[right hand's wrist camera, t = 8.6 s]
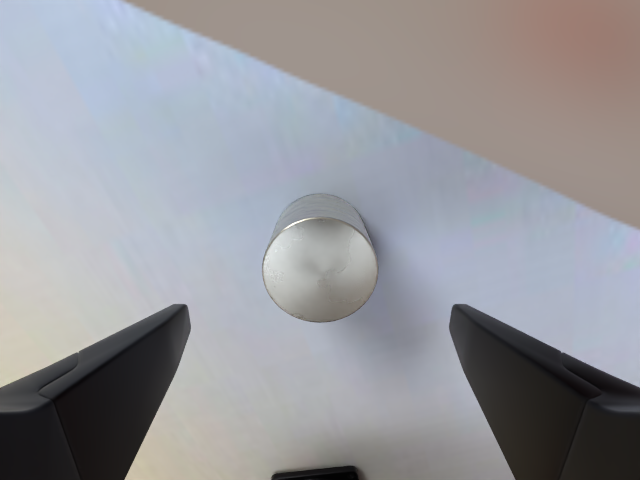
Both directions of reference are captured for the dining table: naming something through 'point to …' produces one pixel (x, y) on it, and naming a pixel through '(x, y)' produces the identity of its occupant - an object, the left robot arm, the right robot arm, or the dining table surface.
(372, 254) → the canister
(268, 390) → the dining table surface
